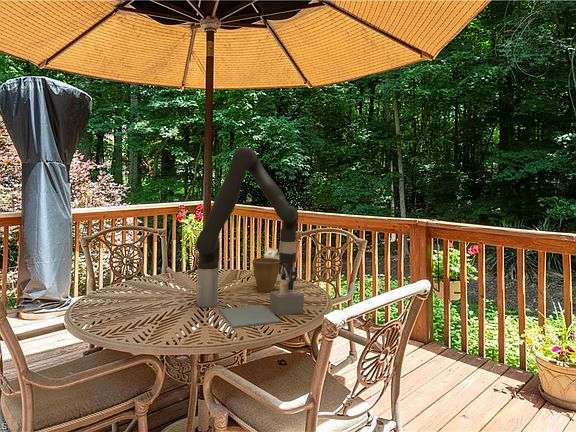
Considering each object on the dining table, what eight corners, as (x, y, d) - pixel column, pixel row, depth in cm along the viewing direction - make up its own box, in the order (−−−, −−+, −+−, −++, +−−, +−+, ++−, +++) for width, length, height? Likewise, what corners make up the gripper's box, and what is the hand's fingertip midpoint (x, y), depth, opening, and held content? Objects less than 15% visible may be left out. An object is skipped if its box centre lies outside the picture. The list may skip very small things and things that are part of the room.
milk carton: (271, 278, 238) (272, 246, 237) (280, 281, 234) (281, 248, 232) (263, 280, 233) (264, 248, 231) (272, 283, 228) (273, 249, 227)
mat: (232, 328, 158) (232, 326, 158) (219, 311, 178) (219, 309, 178) (280, 322, 166) (280, 320, 166) (262, 306, 186) (262, 304, 186)
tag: (280, 307, 179) (281, 280, 178) (279, 306, 180) (280, 280, 179) (293, 306, 181) (294, 279, 180) (291, 305, 182) (292, 279, 181)
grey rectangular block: (277, 315, 174) (278, 296, 173) (269, 308, 183) (270, 290, 182) (303, 312, 178) (303, 293, 178) (294, 306, 188) (294, 287, 187)
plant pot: (279, 294, 206) (280, 263, 205) (250, 293, 207) (250, 262, 205) (280, 286, 221) (281, 257, 220) (253, 285, 222) (253, 257, 220)
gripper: (274, 248, 183) (273, 284, 185) (286, 254, 170) (285, 292, 172) (289, 248, 186) (288, 282, 188) (302, 253, 173) (301, 290, 175)
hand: (286, 287), depth 180 cm, fingers open, 8 cm apart
